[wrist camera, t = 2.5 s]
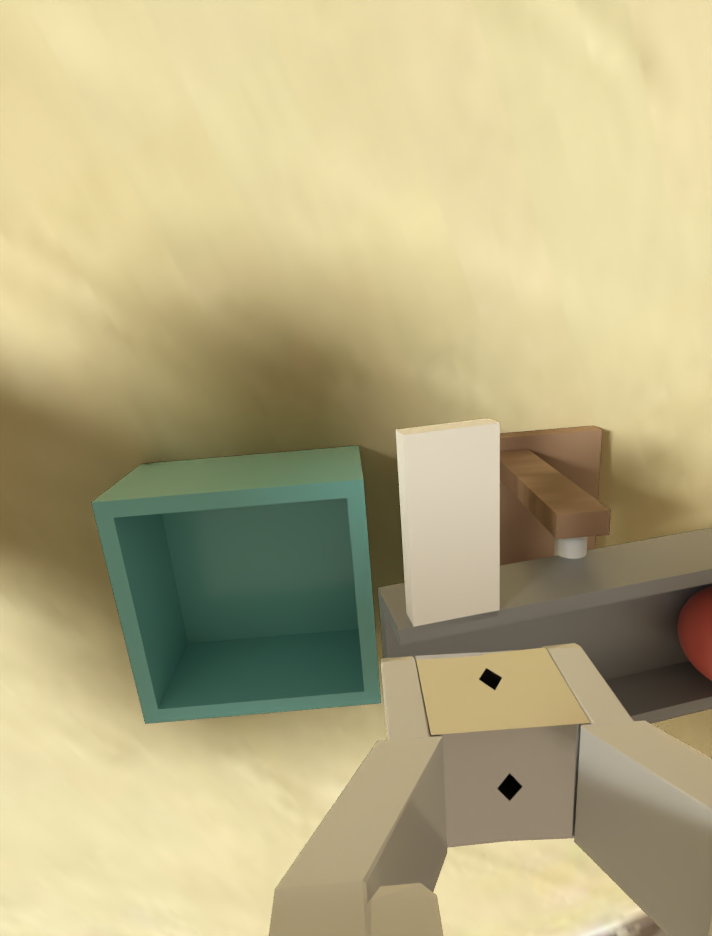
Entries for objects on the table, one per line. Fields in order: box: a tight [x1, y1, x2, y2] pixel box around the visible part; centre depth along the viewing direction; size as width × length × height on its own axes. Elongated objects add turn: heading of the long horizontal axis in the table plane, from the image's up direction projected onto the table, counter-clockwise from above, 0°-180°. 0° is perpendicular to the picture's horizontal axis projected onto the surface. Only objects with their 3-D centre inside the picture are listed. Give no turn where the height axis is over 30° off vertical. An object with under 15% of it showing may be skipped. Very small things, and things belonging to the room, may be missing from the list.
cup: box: [91, 446, 381, 724], centre depth 28 cm, size 12×12×6 cm
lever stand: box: [500, 426, 611, 566], centre depth 26 cm, size 10×12×10 cm
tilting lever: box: [378, 418, 712, 724], centre depth 20 cm, size 16×14×5 cm
